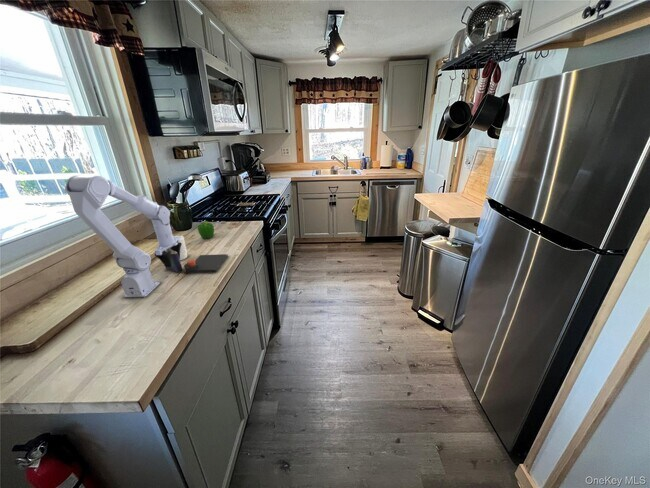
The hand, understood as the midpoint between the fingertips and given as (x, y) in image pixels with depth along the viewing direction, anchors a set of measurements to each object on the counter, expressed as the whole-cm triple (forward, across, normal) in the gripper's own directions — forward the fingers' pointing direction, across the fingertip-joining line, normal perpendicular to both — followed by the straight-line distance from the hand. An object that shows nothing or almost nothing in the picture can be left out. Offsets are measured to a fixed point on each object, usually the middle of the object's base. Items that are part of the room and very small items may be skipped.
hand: (173, 262), depth 112 cm
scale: (+3, +4, -13) cm, 14 cm away
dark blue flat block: (+4, 0, 0) cm, 4 cm away
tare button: (+1, -1, -9) cm, 9 cm away
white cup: (+4, +12, +4) cm, 13 cm away
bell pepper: (+4, +38, +1) cm, 38 cm away
